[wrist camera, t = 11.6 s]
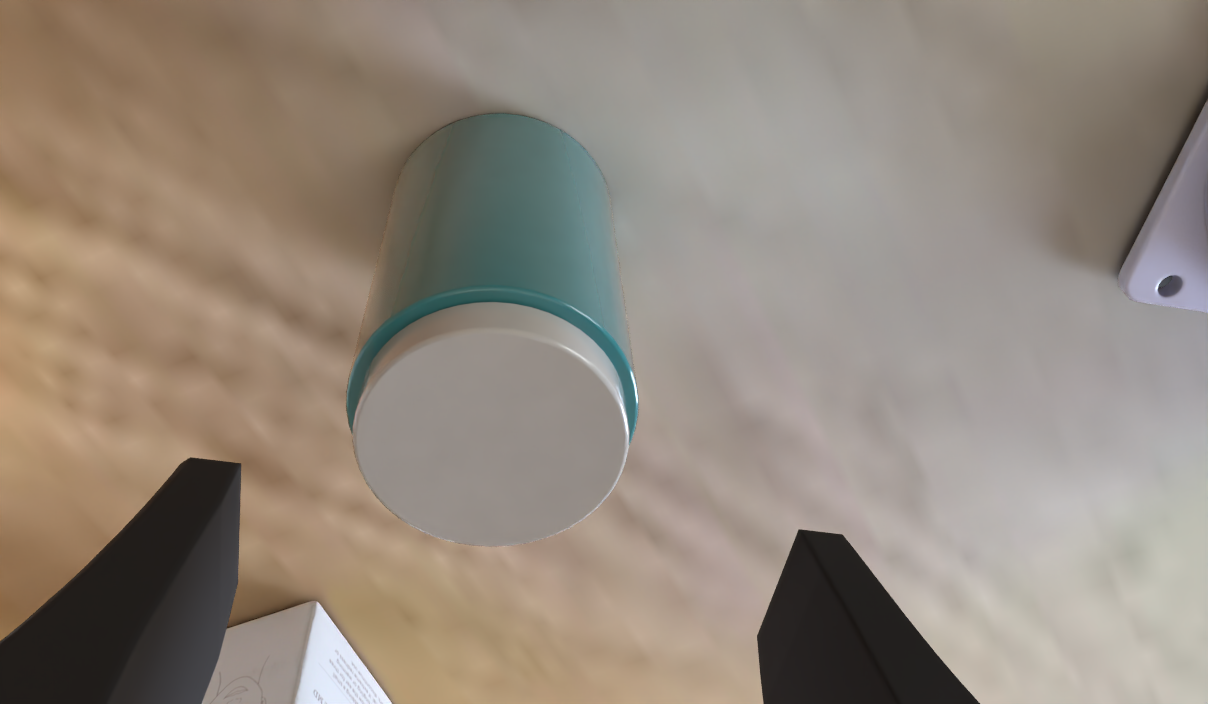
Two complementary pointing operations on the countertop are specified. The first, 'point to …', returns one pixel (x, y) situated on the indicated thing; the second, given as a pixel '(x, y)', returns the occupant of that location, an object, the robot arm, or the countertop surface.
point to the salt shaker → (495, 339)
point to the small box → (291, 663)
